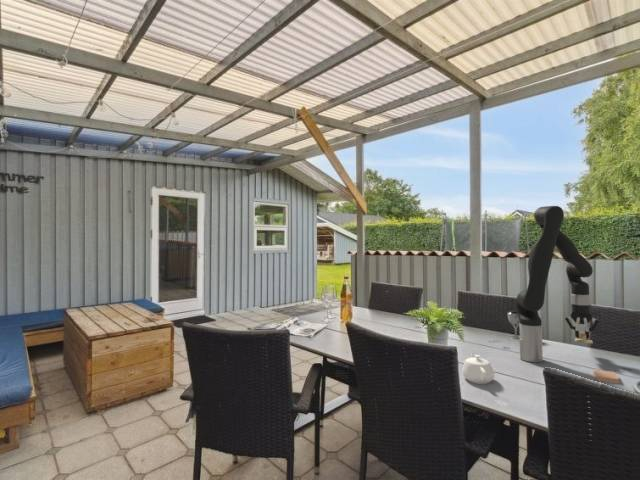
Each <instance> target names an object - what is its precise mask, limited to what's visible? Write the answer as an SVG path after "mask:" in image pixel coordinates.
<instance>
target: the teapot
mask: <svg viewBox="0 0 640 480" xmlns="http://www.w3.org/2000/svg"><path fill="white" fill-rule="evenodd" d="M461 373H462V375H463V376H464V377H465V379H466V380H467V381H468V382H470V383H473V384H475V385H476V384H477V385H485V384H489V383H490V382H492V381H493V380H494V378H495V376H496V375H495V371H494V369H493V367H492V365H491V363H490V361H489V360H487V359H485V358H482V357H481V355H479V354H475V355H474V354H473V353H470V357H468V358H466V359H465V360H464V363H463V365H462V369H461Z"/></svg>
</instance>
